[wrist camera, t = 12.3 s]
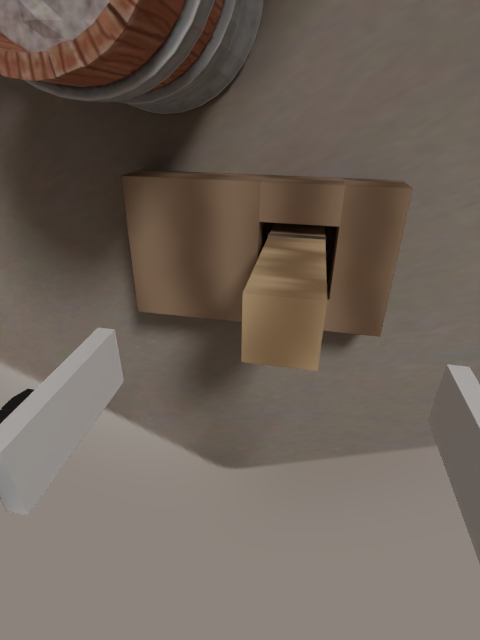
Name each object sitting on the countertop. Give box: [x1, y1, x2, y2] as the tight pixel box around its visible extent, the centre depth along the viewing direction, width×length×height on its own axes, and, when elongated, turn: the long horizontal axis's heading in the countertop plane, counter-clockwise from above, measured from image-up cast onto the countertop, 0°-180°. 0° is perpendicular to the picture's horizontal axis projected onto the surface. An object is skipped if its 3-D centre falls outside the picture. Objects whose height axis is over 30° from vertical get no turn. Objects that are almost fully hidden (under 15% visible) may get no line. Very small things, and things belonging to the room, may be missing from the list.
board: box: [121, 170, 413, 337], centre depth 30 cm, size 20×11×4 cm, turn 89°
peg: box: [241, 223, 327, 371], centre depth 25 cm, size 4×4×14 cm
